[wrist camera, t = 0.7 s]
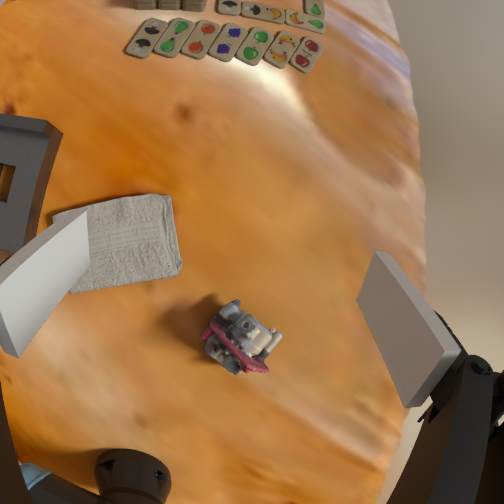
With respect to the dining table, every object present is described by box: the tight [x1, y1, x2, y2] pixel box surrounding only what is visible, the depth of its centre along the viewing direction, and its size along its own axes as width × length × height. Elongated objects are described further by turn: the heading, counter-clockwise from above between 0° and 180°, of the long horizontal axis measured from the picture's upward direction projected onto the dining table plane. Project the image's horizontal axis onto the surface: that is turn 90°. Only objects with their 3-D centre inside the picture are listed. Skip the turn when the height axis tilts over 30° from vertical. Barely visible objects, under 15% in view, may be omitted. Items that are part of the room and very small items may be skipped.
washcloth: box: [52, 193, 183, 294], centre depth 39 cm, size 12×18×3 cm, turn 99°
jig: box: [0, 114, 63, 254], centre depth 31 cm, size 18×14×7 cm
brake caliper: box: [200, 299, 283, 375], centre depth 42 cm, size 11×11×12 cm
